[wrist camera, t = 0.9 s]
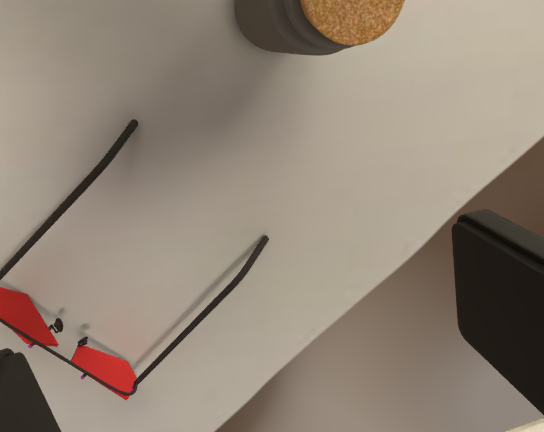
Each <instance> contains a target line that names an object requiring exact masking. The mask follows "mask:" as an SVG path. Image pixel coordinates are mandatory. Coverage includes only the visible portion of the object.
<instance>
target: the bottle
mask: <svg viewBox="0 0 544 432" xmlns="http://www.w3.org/2000/svg"><path fill="white" fill-rule="evenodd" d="M404 1H405V0H235V13H236V19H237V21H238V24H239V27H240V29H241V31H242V32H243V34H244V35H245V36H246V37H247V39H248V40H249V41H250V42H252V43H253V44H254V45H256V46H258V47H260V48H262V49H264V50H268V51H273V52H281V53H290V54H302V55H329V54H333V53H336V52H339V51H341V50H343V49H346V48H350V47H353V46H356V45H362V44H365V43H368V42H371V41H373V40H375V39H377V38H378V37H380V36H381V35H383V34H384V33H385V32H386V31H387V30H388V29H389V28H390V27H391V26H392V24H393V23H394V22H395V20H396V19H397V17H398V15H399V13H400V11H401V9H402V6H403V4H404Z"/></svg>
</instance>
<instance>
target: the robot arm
mask: <svg viewBox="0 0 544 432" xmlns="http://www.w3.org/2000/svg"><path fill="white" fill-rule="evenodd" d="M452 243H453V257H454V273H455V288H456V303H457V318H458V327H459V330H460V332H461V334H462V336H463V337H464V339H465V340H466V341H467V342H468V343H469V344H470V345H471V346H472V347H473V348H474V349H475V350H476V351H478V352H479V353H480V354H481V355H482V356H483V357H484V358H485V359H486V360H487V361H488V362H489V363H490V364H491V365H492V366H493V367H494V368H495V369H496V370H497V371H498V372H499V373H500V374H501V375H502V376H503V377H505V378H506V379H507V380H508V381H509V382H510V383H511V384H512V385H513V386H514V387H515V388H516V389H517V390H518V391H519V392H520V393H521V394H523V396H524V397H525V398H526V399H527V400H528V401H530V402H531V403H532V404H533V405H534V406H535V407H536V408H537V409H538V410H539V411H540V412H541V413H542V414H543V415H544V238H543V237H541V236H540V235H537V234H536V233H534V232H532V231H529V230H528V229H526V228H524V227H522V226H520V225H518V224H515V223H514V222H512V221H510V220H508V219H506V218H504V217H502V216H500V215H498V214H496V213H494V212H492V211H490V210H488V209H481V210H478V211H474V212H471V213H467V214H464V215H461V216H460V217H459V218H458V220H457V223H456V224H454V225H453V227H452ZM0 432H61V430H60V428H59V426H58V424H57V422H56V420H55V418H54V416H53V414H52V412H51V410H50V407H49V405H48V403H47V401H46V399H45V397H44V395H43V393H42V391H41V389H40V387H39V385H38V382H37V380H36V378H35V376H34V374H33V372H32V370H31V368H30V366H29V364H28V362H27V360H26V358H25V356H24V355H23V354H22V353H20V352H19V353H15V354H14V352H13V351H12V350H11V349H8V348H6V349H3V350H0ZM506 432H544V418H542V419H539V420H536V421H534V422H531V423H528V424H525V425H522V426H520V427H517V428H514V429H511V430H508V431H506Z"/></svg>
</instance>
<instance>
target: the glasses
mask: <svg viewBox="0 0 544 432" xmlns="http://www.w3.org/2000/svg"><path fill="white" fill-rule="evenodd" d="M137 126H138V121H137V120H132V121H131V122H130V123H129V125H128V126H127V127H126V129H125V130H124V131H123V133H122V134H121V135H120V137H119V138H118V139H117V141H116V142H115V143H114V145H113V146H112V147H111V149H110V150H109V151H108V153H107V154H106V155H105V156H104V158H103V159H102V160H101V161H100V162H99V163H98V165H97V166H96V167H95V168H94V169H93V170H92V171H91V172H90V174H89V175H88V176H87V177H86V178H85V179H84V180H83V181H82V182H81V183H80V184H79V185H78V187H77V188H76V189H75V190H74V191H73V192H72V193H71V194H70V195H69V196H68V197H67V199H66V200H65V201H64V202H63V203H62V204H61V205H60V206H59V207H58V208H57V209H56V211H55V212H54V213H53V214H52V215H51V216H50V217H49V218H48V219H47V220H46V221H45V223H44V224H43V225H42V226H41V227H40V228H39V229H38V230H37V231H36V232H35V234H34V235H33V236H32V237H31V238H30V239H29V240H28V241H27V242H26V243H25V244H24V246H23V247H22V248H21V249H20V250H19V251H18V252H17V253H16V254H15V255H14V256H13V258H12V259H11V260H10V261H9V262H8V263H7V264H6V265H5V266H4V267H3V268H2V269H1V271H0V280H1V279H2V278H3V277H4V276H5V275H6V274H7V273H8V271H9V270H10V269H11V268H12V267H13V266H14V265H15V264H16V263H17V262H18V261H19V260H20V259H21V258H22V257H23V256H24V255H25V253H26V252H27V251H28V250H29V249H30V248H31V247H32V246H33V245H34V244H35V243H36V242H37V241H38V240H39V239H40V238H41V237H42V236H43V234H44V233H45V232H46V231H47V230H48V229H49V228H50V227H51V226H52V225H53V224H54V223H55V222H56V221H57V220H58V219H59V218H60V216H61V215H62V214H63V213H64V212H65V211H66V210H67V209H68V208H69V207H70V206H71V205H72V204H73V203H74V202H75V201H76V200H77V199H78V197H79V196H80V195H81V194H82V193H83V192H84V191H85V190H86V189H87V188H88V187H89V186H90V185H91V184H92V183H93V181H94V180H95V179H96V178H97V177H98V176H99V175H100V174H101V173H102V172H103V170H104V169H105V168H106V167H107V166H108V165H109V163H110V162H111V161H112V160H113V158H114V157H115V156H116V154H117V153H118V152H119V150H120V149H121V148H122V146H123V145H124V143H125V142H126V141H127V139H128V138H129V137H130V135H131V134H132V133H133V131H134V130H135V128H136V127H137ZM268 240H269V238H268V237H267V236H263V237H262V239H261V240H260V242H259V244H258V245H257V247H256V248H255V250H254V251H253V253H252V254H251V256H250V258H249V259H248V261H247V262H246V264H245V265H244V267H243V268H242V269H241V271H240V272H239V273H238V275H237V276H236V277H235V278H234V279H233V280H232V282H231V283H230V284H229V285H228V286H227V287H226V288H225V289H224V290H223V291H222V292H221V293H220V294H219V295H218V296H217V297H216V298H215V299H214V300H213V301H212V302H211V303H210V304H209V305H208V306H207V307H206V308H205V309H204V310H203V311H202V312H201V313H200V314H199V315H198V316H197V317H196V318H195V320H194V321H193V322H192V323H191V324H190V325H189V326H188V327H187V328H186V329H185V330H184V331H183V332H182V333H181V334H180V335H179V336H178V337H177V338H176V339H175V340H174V341H173V342H172V343H171V344H170V345H169V346H168V347H167V348H166V349H165V350H164V351H163V352H162V353H161V354H160V355H159V357H158V358H157V359H156V360H155V361H154V362H153V363H152V364H151V365H150V366H149V367H148V368H147V369H146V370H145V371H144V372H143V373H142V374H141V375H140V376H139V377H138V378H137V377H136V376H135V374H134V372H133V370H132V368H131V367H130V365H129V363H128V361H125V360H122V359H120V358H117V357H114V356H111V355H108V354H106V353H103V352H100V351H97V350H95V349H92V348H89V347H86V346H83V345H86V344H87V339H88V337H85V338H83V339H81V340H80V341H79V342H78V345H77V349H76V351H75V353H74V355H73V357H72V360H71V361H70V360H68V359H66V358H65V357H63V356H62V355H60V354H58V353H57V352H55V351H53V350H52V349H50V348H48V347H47V346H56V347H57V346H58V345H59V344H58V343H57V341H56V339H55V338H54V336H53V335H52V333H51V331H50V330H51V329H53V330H54V331H55V333H58V332H62V330H63V323H62V321H61V319H60V318H57V319H56V321H55V323H54V327H56V329H57V330H58V331H56V330H55V328H54V327H53V325H52V324H51V325H50V326H49V327H47V325H46V324H45V322H44V320H43V319H42V317H41V316H40V314H39V312H38V311H37V309H36V308H35V306H34V304H33V303H32V301H31V300H30V298H29V296H28V295H27V294H23V293H20V292H16V291H12V290H9V289H5V288H2V287H0V322H2V323H3V324H4V325H6V326H7V327H9V328H10V329H12V330H13V331H14V332H15V333H16V334H17V335H18V336H19V337H20V338H21V339H22V340H23V341H24V342H25V343H26V344H29V346H28V347H29V348H32V346H33V345H39V346H40V347H42V348H44V349H45V350H47V351H48V352H50V353H52V354H53V355H55V356H57V357H58V358H60V359H62V360H63V361H65V362H67V363H68V364H70V365H72V366H73V367H75V368H77V369H78V370H80V371H81V372H83V373H84V374H83V375H82V376H81V379H84V377H85V376H86V375H88V376H89V377H91V378H92V379H94V380H95V381H97V382H98V383H100V384H102V385H103V386H105V387H106V388H108V389H109V390H111V391H112V392H114V393H116V394H117V395H119V396H120V397H122V398H123V399H125V400H127V399H128V398H129V395H133V394H134V393H135V392H136V390H137V385H138V384H139V383H140V382H141V381H142V380H143V379H144V378H145V377H146V376H147V375H148V374H149V373H150V372H151V371H152V370H153V369H154V368H155V367H156V366H157V365H158V364H159V363H160V362H161V361H162V360H163V359H164V358H165V357H166V356H167V355H168V354H169V353H170V352H171V351H172V350H173V349H174V348H175V347H176V346H177V345H178V344H179V343H180V342H181V341H182V340H183V339H184V338H185V337H186V336H187V335H188V334H189V333H190V332H191V331H192V330H193V329H194V328H195V327H196V326H197V325H198V324H199V323H200V322H201V321H202V320H203V319H204V318H205V317H206V316H207V315H208V314H209V313H210V312H211V311H212V310H213V309H214V308H215V307H216V306H217V305H218V304H219V303H220V302H221V301H222V300H223V299H224V298H225V297H226V296H227V295H228V294H229V293H230V292H231V291H232V290H233V289H234V288H235V287H236V286H237V285H238V284H239V282H240V281H241V280H242V279H243V278H244V276H245V275H246V274H247V272H248V271H249V270H250V268H251V267H252V265H253V264H254V262H255V260H256V259H257V257H258V256H259V254H260V253H261V251H262V250H263V248H264V246H265V245H266V243H267V242H268ZM50 327H51V328H50ZM49 328H50V329H49ZM136 378H137V379H136Z"/></svg>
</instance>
